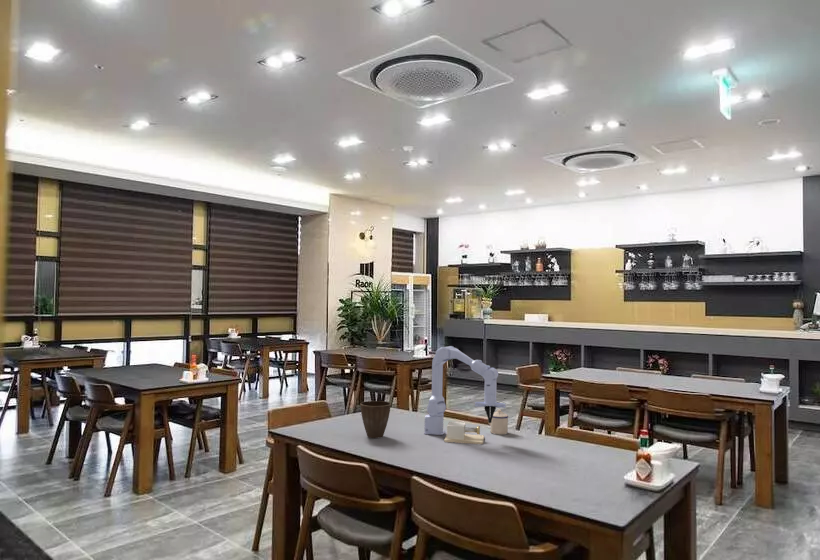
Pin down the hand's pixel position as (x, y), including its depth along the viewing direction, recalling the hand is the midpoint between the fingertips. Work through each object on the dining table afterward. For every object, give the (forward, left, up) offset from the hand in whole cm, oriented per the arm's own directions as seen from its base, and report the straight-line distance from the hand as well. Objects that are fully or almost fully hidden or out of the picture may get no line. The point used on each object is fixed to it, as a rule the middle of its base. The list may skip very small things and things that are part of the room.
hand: (490, 422), depth 273 cm
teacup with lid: (+3, +20, -9) cm, 22 cm away
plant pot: (-55, -5, -9) cm, 56 cm away
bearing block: (-12, 0, -9) cm, 15 cm away
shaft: (-11, 0, -6) cm, 12 cm away
